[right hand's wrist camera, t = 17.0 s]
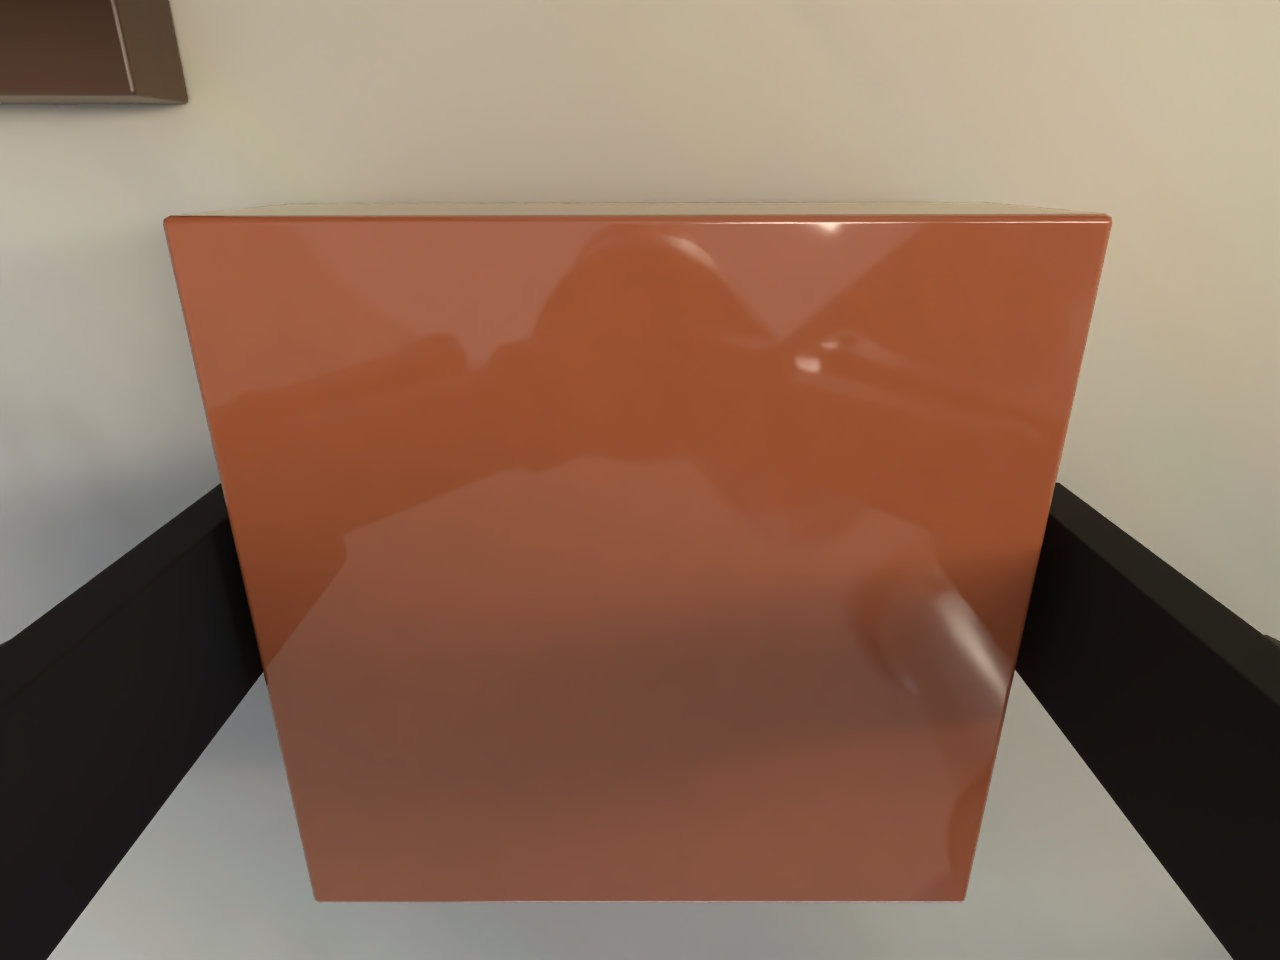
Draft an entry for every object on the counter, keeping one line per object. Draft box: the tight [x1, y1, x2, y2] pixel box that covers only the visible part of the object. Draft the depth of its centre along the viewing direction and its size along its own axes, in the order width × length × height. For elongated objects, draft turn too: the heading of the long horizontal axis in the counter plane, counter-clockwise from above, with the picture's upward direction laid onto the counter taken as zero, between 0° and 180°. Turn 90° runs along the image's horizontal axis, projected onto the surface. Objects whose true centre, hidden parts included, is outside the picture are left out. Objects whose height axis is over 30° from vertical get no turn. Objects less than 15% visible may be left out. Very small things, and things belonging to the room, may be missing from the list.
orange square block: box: [163, 202, 1112, 903], centre depth 13 cm, size 11×11×5 cm
